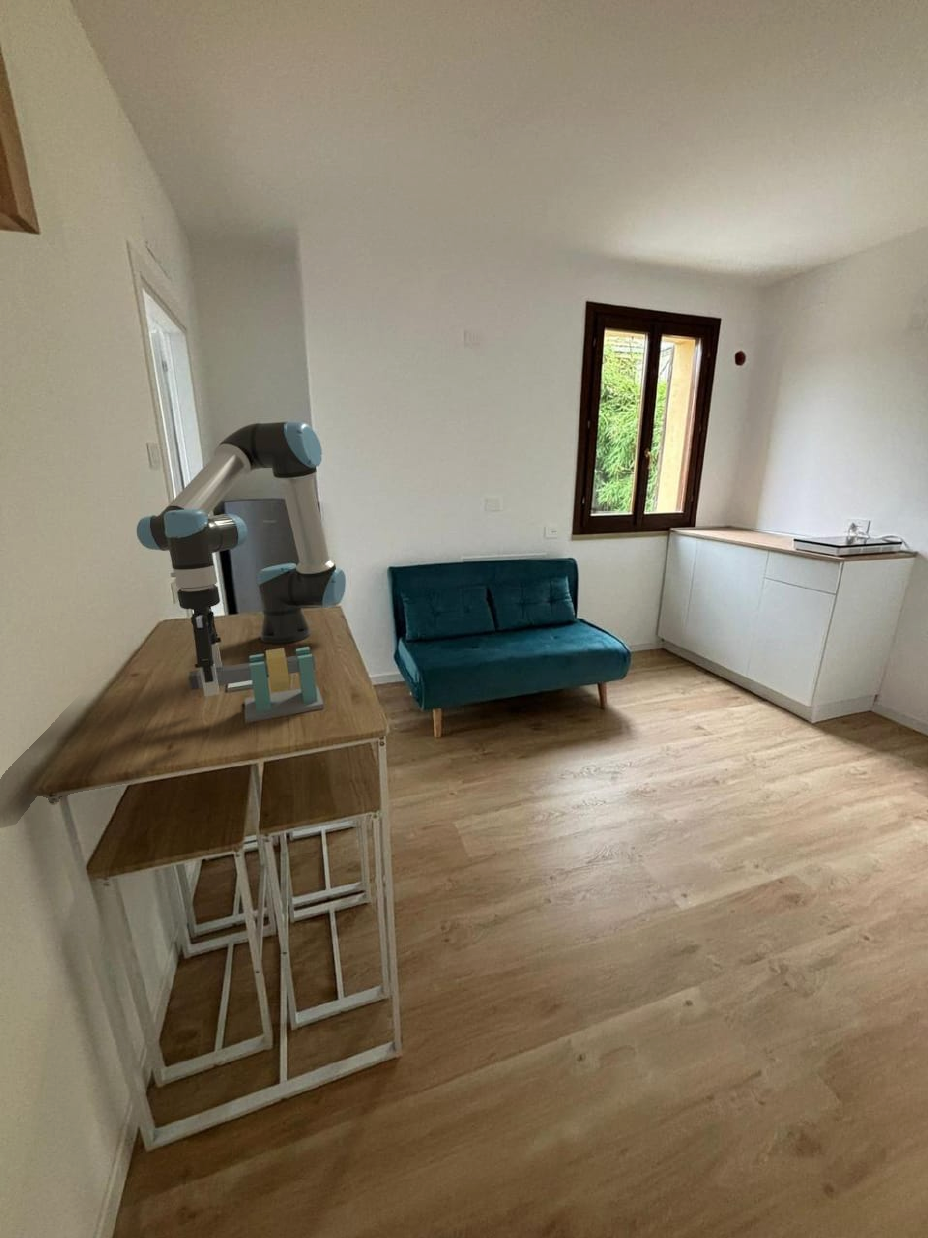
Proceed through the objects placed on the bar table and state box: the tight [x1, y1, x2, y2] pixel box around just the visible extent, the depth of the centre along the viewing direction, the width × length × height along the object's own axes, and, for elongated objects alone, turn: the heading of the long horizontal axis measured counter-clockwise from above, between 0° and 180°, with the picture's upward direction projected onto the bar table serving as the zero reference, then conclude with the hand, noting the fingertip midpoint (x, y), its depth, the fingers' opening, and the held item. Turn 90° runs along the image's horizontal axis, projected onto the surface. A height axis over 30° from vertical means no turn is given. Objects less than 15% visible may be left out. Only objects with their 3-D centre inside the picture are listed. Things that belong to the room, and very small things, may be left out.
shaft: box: [188, 652, 316, 691], centre depth 113 cm, size 3×26×3 cm, turn 112°
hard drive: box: [227, 680, 253, 692], centre depth 133 cm, size 2×8×12 cm
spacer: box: [265, 647, 291, 693], centre depth 115 cm, size 6×4×8 cm, turn 22°
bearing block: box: [244, 646, 325, 724], centre depth 116 cm, size 11×16×12 cm, turn 112°
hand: (214, 682), depth 111 cm, fingers open, 13 cm apart
